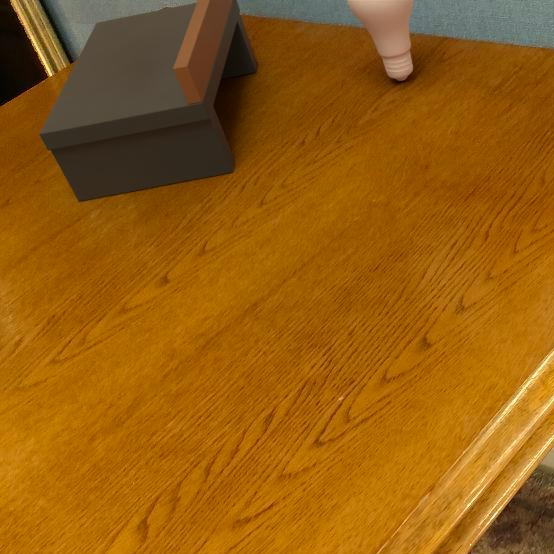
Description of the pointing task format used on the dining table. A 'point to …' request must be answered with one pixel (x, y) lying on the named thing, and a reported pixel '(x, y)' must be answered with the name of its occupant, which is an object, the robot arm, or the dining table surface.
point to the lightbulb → (388, 32)
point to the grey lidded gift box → (149, 100)
